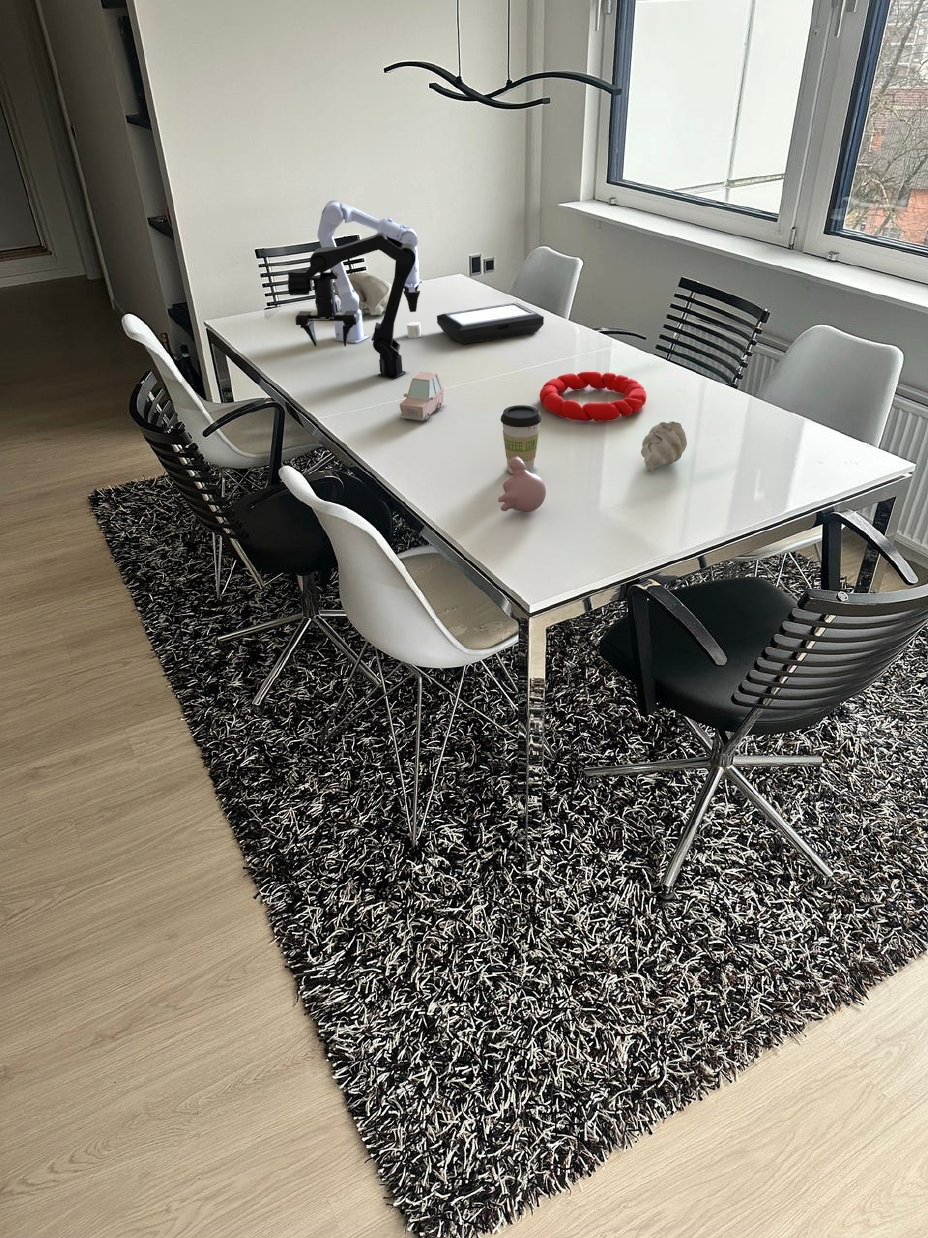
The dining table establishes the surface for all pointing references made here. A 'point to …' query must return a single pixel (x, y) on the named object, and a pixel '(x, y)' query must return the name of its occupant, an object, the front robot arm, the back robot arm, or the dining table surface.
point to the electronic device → (490, 322)
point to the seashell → (663, 445)
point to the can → (413, 329)
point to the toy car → (422, 397)
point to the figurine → (522, 489)
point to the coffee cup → (521, 433)
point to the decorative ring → (593, 410)
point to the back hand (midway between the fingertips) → (412, 308)
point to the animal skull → (369, 292)
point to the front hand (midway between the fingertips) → (330, 346)
